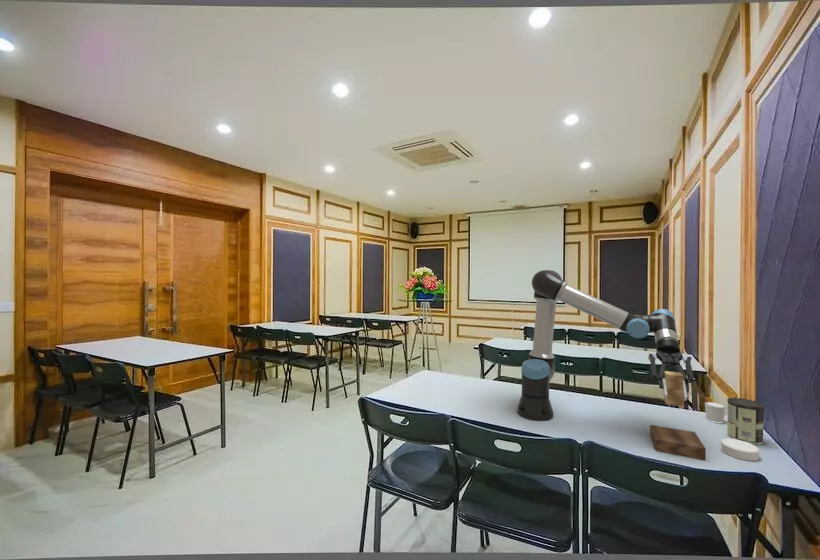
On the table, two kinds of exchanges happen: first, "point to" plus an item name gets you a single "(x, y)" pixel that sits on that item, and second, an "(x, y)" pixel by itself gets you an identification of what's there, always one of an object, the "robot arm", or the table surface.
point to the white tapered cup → (715, 411)
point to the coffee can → (745, 420)
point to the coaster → (740, 449)
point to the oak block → (674, 388)
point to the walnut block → (677, 442)
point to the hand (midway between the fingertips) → (675, 397)
